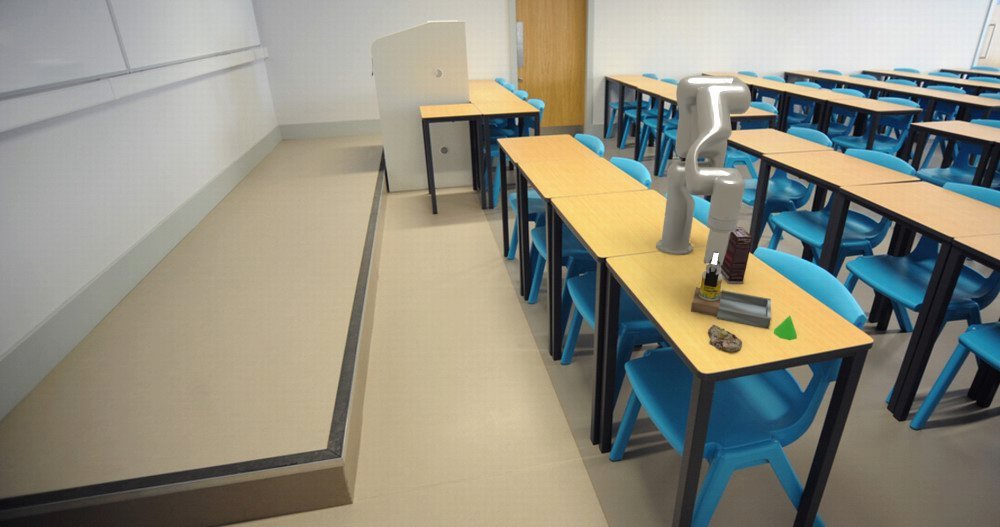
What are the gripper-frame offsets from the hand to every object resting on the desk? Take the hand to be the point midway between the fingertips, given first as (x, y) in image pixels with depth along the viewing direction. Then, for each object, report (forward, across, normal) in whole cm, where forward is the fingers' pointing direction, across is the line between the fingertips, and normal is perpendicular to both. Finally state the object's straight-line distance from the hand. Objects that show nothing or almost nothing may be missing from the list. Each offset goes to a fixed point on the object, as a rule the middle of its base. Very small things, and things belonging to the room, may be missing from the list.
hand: (711, 278), depth 148 cm
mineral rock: (+9, +18, +6) cm, 21 cm away
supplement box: (+10, -21, +5) cm, 24 cm away
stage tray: (+9, +1, +5) cm, 10 cm away
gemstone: (+9, +8, +20) cm, 23 cm away
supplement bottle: (+6, 0, 0) cm, 6 cm away
